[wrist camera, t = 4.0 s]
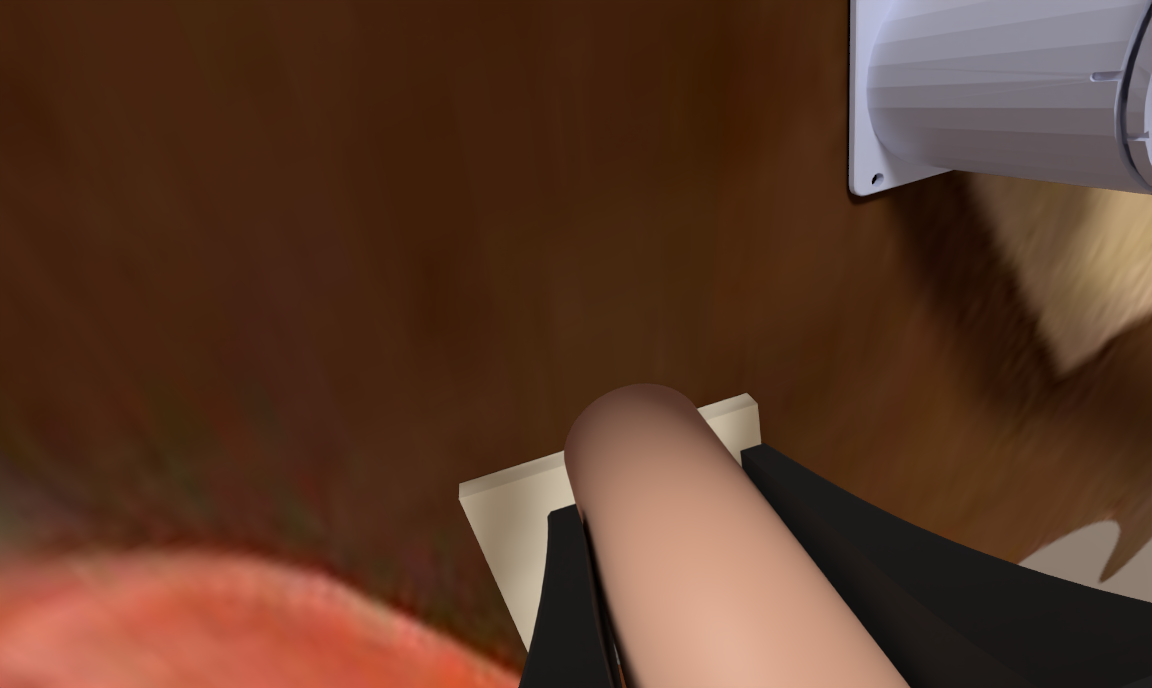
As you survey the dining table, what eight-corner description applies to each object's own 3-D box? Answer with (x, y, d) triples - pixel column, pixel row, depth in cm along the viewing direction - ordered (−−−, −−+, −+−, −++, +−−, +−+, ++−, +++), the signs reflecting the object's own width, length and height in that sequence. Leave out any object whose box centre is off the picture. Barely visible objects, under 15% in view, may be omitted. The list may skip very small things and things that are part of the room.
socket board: (746, 393, 24) (794, 442, 21) (765, 587, 31) (805, 650, 27) (459, 483, 23) (458, 551, 20) (539, 665, 30) (549, 741, 26)
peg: (693, 365, 14) (946, 651, 6) (710, 479, 15) (922, 802, 8) (548, 410, 13) (643, 761, 6) (581, 521, 15) (686, 892, 8)
